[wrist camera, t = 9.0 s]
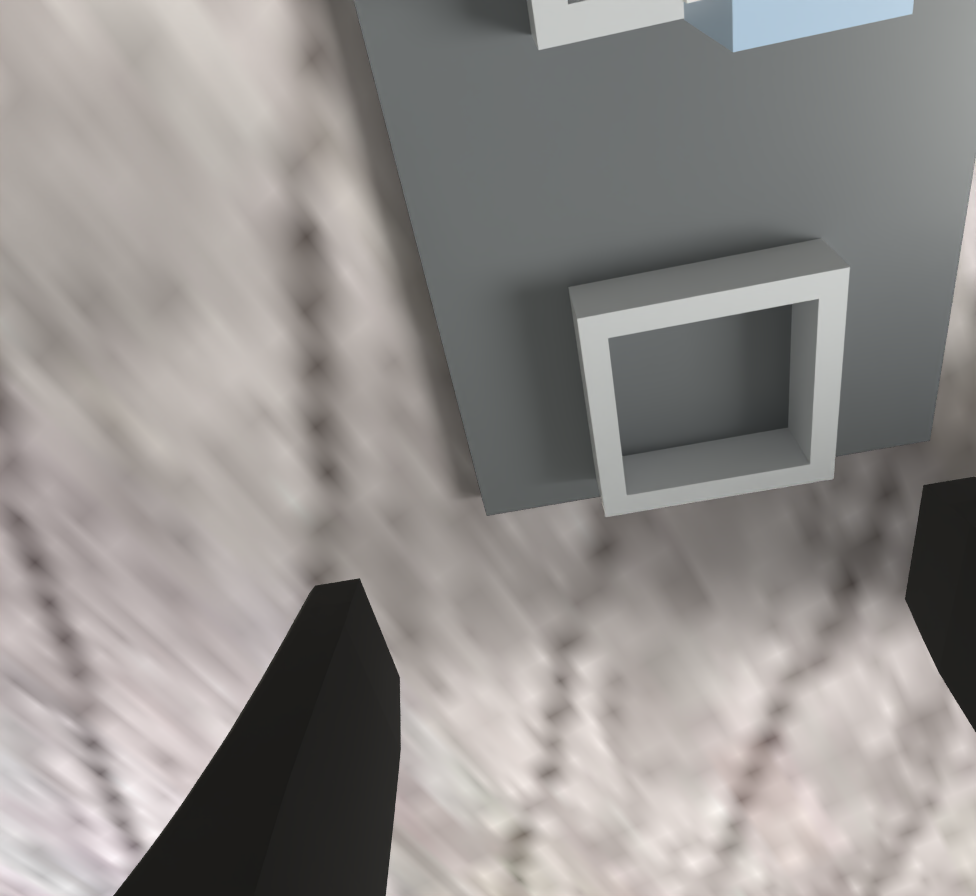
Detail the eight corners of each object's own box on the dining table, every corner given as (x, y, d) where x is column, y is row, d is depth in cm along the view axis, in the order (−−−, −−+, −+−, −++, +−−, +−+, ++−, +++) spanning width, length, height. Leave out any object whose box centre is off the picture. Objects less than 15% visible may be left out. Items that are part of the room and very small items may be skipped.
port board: (1065, -592, 12) (1187, -684, 10) (915, 423, 22) (960, 477, 20) (264, -373, 13) (229, -417, 11) (485, 497, 23) (488, 555, 21)
